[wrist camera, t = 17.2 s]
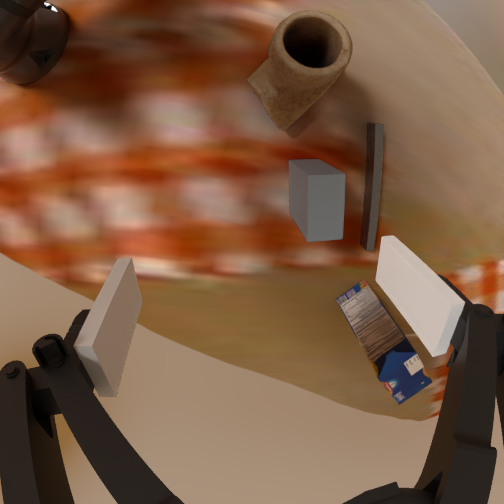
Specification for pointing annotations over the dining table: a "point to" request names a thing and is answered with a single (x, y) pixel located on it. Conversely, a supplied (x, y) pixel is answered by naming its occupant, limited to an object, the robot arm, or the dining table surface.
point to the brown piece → (301, 64)
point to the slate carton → (317, 199)
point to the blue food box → (383, 343)
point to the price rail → (372, 185)
